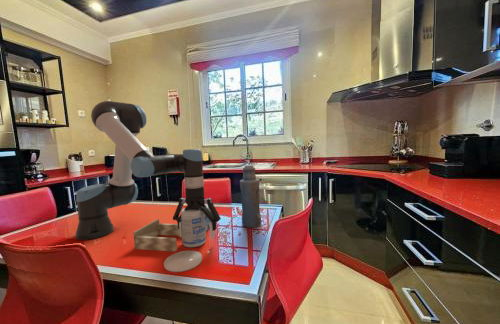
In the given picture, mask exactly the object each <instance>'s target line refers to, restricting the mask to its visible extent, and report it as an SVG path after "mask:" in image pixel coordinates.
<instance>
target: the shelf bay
mask: <svg viewBox="0 0 500 324" xmlns="http://www.w3.org/2000/svg"><path fill="white" fill-rule="evenodd" d="M132 234H133V244H134V249H135V250H147V251H163V252H175V253H177V251H178V245H177V238H176V236H178V237H180V229H178V224H177V223H160V219H159V218H157V219H154V220H153V221H151V222H149V223H148V224H146V225H144V226H142V227H140V228H138V229H137V230H135V231H133V233H132ZM160 235H161V236H162V237H161V236H160ZM163 236H165V237H163ZM167 236H175V237H167Z"/></svg>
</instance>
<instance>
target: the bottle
mask: <svg viewBox="0 0 500 324" xmlns="http://www.w3.org/2000/svg"><path fill="white" fill-rule="evenodd" d="M242 173H243V174H242V179H240V180H239V188H240V193H241V194H240V195H241V212H242V213H241V224H242V226H243V227H245V228H257V227H259V226H261V225H262V215H261V210H260V209H261V208H260V179H258V178H257V176H256V168H255V167H254V165H251V164H250V165H244V167H243V169H242Z"/></svg>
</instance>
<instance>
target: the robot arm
mask: <svg viewBox="0 0 500 324" xmlns="http://www.w3.org/2000/svg"><path fill="white" fill-rule="evenodd" d="M90 114H91V115H90V119H91V122H92V123H93V125H94V126H95V128H96V129H98V130H99V131H100V132H103V133H104V134H105V135H106V136H107V137H109V139H110V140H111V141H112V143H114V144H115V147H114V160H113V169H112V170H113V172H112V177H111V178H110V179H109V180H108V185H106V184H104V183H97V184H91V185H88V186H84V187H81V188H80V189H78V190H77V191H76V193H75V195H76V197H75V198H76V199H75V201H76V206H77V214H78V215H77V216H78V224H77V228H76V231H75V239H77V241H78V240H79V241H86V240H93V239H97V238H102V237H105V236H107V235H109V234H111V233H113V231H114V224H113V223H112V220H111V219H110V216H109V211H108V210H110V209H114V208H117V207H120V206H121V207H122V206H124V205H128V204H132V203H133V202H135V201H136V200H137V198H138V196H139V195H138V194H139V188H138V185H137V183H135V180H134V179H133V178H132V175H133V176H134V177H136V178H149V177H152V176H158V175H164V174H171V173H183V175H184V176H183V177H184V187H185V188H184V192H185V193H184V195H185V198H184V197H181V198H178V204H177V207H176V209H175V211H174V214H173V217H172V220H173V221H176V222H177V223H176V224H178V229H180V236H179V237H180V238H182V222H181V210H182V209H184V208H185V209H184V210H189V209H191V210H193V209H196V210H199V209H200V210H201V211H202V212H203V213H204V214H205V215H206V216H207V217H208V219H209V220H210V221H211V223H210V228H209V230H210V232H209V233H210V240H213V239H214V238H216V230H217V227H218V226H217V223H218V222H219V221H220V220H221V219H222V218H221V216H220V214H219V212H218V210H217V209H216V207H215V204H214V203H213V198H212V197H209V198H205V187H204V185H205V183H204V168H203V167H204V166H203V151H202V149H200V148H189V149H188V148H187V149H183V151H182V153H179V154H178V153H175V154H174V153H169V154H162V155H161V154H159V155H155V154H153V153H152V152H151V151H150V150H149V149H148V148H147V147H146V146H145V145H144V144H143V143H142V142H141V141H140V140H139V139H138V138H137V136H138V135H140V133H141V129H143V128H145V127H146V125H147V115H146V114H147V113H146V112H145V110H144V108H142V107H141V106H140V105H139V104H138V105H137V104H133V103H128V102H118V101H113V100H107V101H105V100H104V101H101V102H98V103H97V104H95V106H94V107H93V108H92V110H91V113H90ZM184 204H186V206H185V207H184ZM205 204H208V207H209V209H210V211H211V212H210V211H209V210H208V209H207V207H206V205H205Z"/></svg>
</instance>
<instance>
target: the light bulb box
mask: <svg viewBox="0 0 500 324" xmlns="http://www.w3.org/2000/svg"><path fill="white" fill-rule="evenodd" d="M204 204H205V205H206V207H207V209H208V210H209V211H210V209H209V207H208V204H206V203H204ZM210 212H211V211H210ZM210 223H211V221H210V220H209V219H208V217H207V216H206V215H205V233H206V232H207V231H209V230H210Z"/></svg>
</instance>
